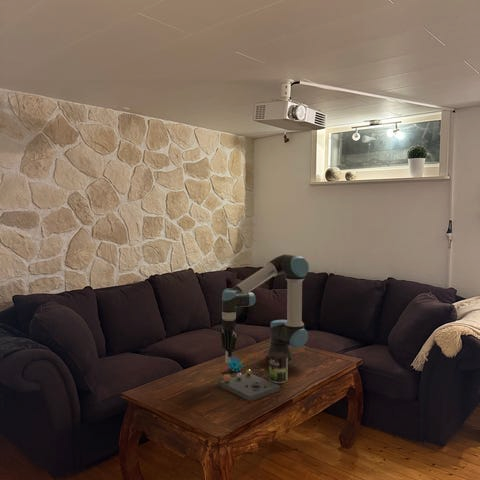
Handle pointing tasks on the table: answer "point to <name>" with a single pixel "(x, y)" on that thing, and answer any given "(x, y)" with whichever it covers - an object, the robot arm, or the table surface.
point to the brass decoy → (248, 372)
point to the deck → (250, 387)
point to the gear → (234, 364)
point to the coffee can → (278, 367)
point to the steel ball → (239, 376)
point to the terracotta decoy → (227, 378)
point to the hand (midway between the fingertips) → (228, 362)
